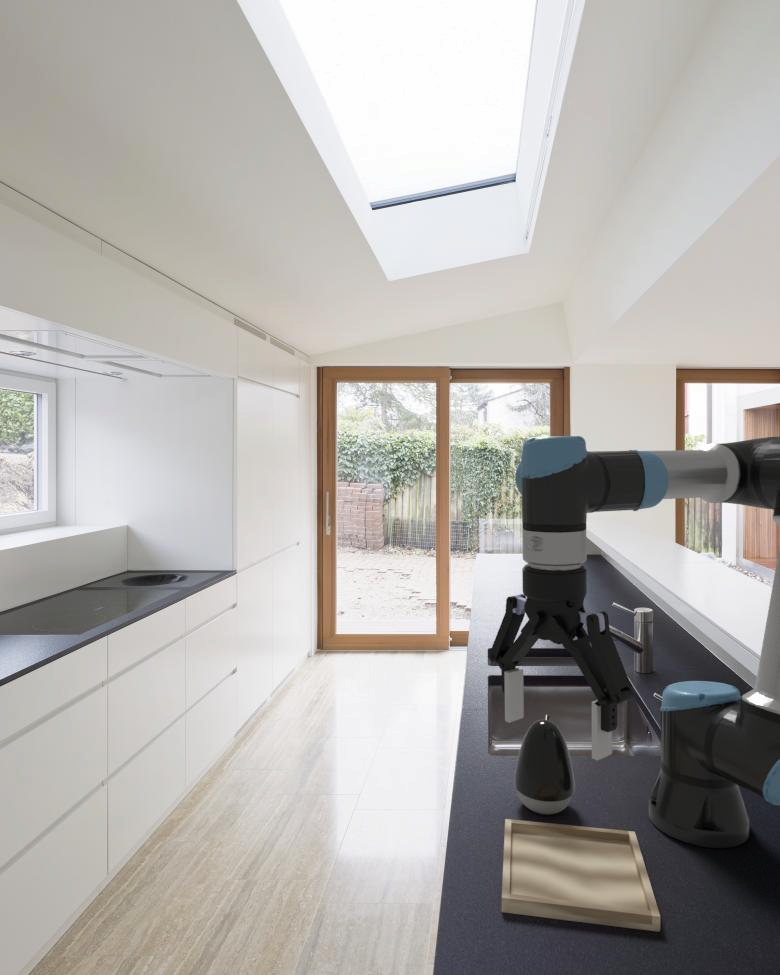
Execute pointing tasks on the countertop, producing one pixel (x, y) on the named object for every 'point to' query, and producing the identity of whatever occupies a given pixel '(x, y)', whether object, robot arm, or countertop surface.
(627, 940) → the countertop surface
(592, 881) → the birch tray
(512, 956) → the countertop surface
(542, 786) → the pump dispenser
